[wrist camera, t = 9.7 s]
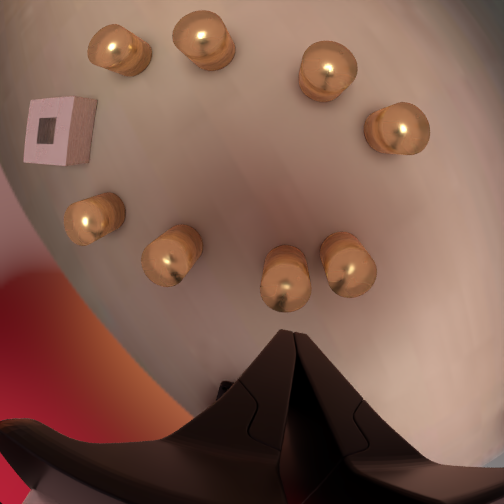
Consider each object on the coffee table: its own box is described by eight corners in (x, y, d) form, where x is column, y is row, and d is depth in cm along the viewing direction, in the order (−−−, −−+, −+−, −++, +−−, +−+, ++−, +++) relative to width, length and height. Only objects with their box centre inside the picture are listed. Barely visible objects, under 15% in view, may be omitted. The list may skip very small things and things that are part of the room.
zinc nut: (88, 162, 20) (65, 165, 17) (47, 158, 20) (23, 162, 18) (97, 100, 19) (74, 96, 16) (53, 102, 19) (30, 100, 16)
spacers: (346, 307, 22) (357, 336, 18) (87, 235, 22) (58, 250, 18) (415, 88, 16) (441, 78, 12) (126, 29, 16) (100, 13, 13)
